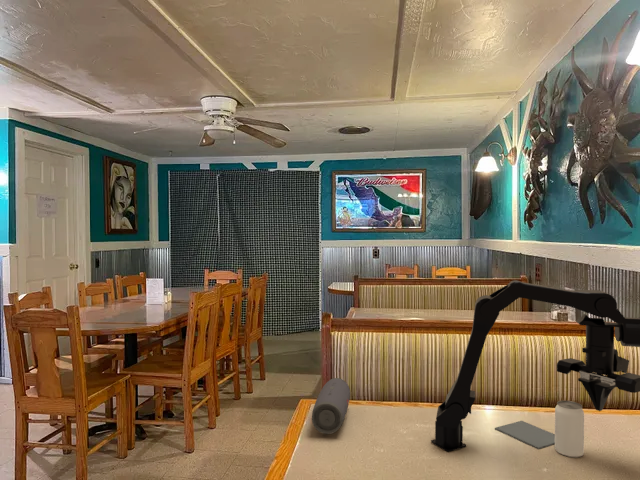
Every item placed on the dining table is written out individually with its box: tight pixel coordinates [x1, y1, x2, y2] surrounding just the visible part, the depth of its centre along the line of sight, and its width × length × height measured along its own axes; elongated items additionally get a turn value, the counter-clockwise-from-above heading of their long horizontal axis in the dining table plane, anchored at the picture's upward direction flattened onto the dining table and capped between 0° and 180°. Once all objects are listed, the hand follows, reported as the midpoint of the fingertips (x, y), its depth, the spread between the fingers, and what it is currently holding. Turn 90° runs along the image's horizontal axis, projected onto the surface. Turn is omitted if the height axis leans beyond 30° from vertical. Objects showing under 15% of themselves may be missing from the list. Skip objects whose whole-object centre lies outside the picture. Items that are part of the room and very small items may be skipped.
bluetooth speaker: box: [311, 377, 351, 435], centre depth 137 cm, size 23×9×10 cm, turn 171°
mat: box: [494, 420, 555, 450], centre depth 129 cm, size 11×14×1 cm
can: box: [554, 400, 585, 458], centre depth 118 cm, size 6×6×12 cm
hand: (599, 410), depth 112 cm, fingers closed
